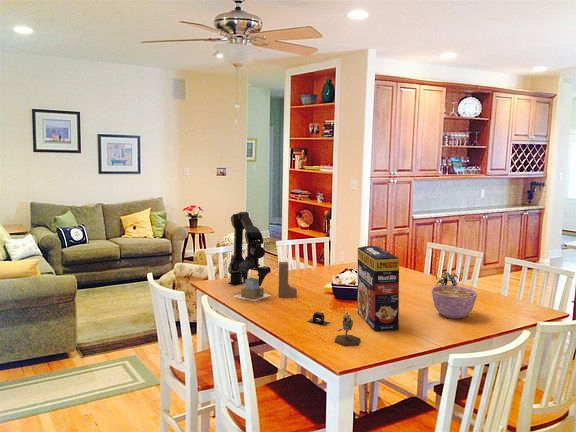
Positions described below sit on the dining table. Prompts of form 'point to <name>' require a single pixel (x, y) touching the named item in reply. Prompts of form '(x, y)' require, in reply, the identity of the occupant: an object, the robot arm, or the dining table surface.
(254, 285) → the gray cube
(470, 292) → the bowl of food
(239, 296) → the felt mat
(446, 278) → the plant sprig
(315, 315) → the black block
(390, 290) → the cereal box
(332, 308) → the dining table surface
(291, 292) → the wooden block
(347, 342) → the robot figurine
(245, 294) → the walnut base
